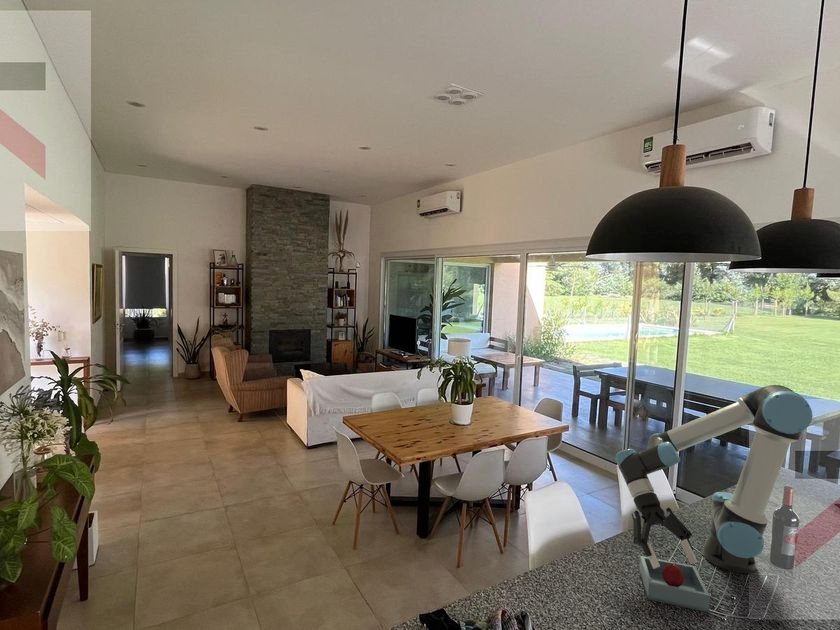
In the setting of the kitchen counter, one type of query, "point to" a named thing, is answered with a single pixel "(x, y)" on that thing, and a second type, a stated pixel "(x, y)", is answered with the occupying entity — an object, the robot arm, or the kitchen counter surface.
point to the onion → (673, 575)
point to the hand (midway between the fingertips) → (675, 565)
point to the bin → (684, 596)
